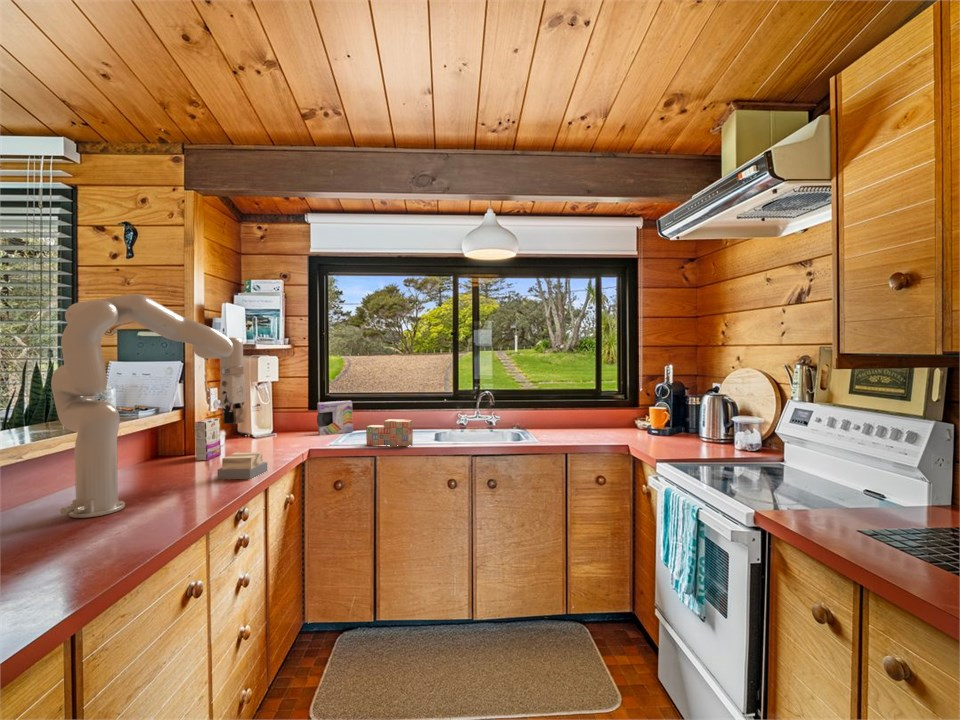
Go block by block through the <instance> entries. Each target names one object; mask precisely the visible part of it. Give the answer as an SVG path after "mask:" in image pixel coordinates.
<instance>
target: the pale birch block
mask: <svg viewBox="0 0 960 720" xmlns="http://www.w3.org/2000/svg"><path fill="white" fill-rule="evenodd" d="M262 462H263V451H253V452H252V451H250V452H249V451H248V452H246V451H243V452H233V453H231V454H229V455H227V456H224V457H222V462H221V463H222V467H221V468H222V470H228V469H252V468H254V467H256V466H257V465H259V464H261V463H262Z"/></svg>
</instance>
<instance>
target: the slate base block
mask: <svg viewBox="0 0 960 720" xmlns="http://www.w3.org/2000/svg"><path fill="white" fill-rule="evenodd" d="M266 471H267V472H268V462H267V461H266V462H265V461H262V463H261V464H259V465H257V466H256V467H254V468H252V469H228V470H222V467H221V468H219V469H217V480H218V479H251V480H253V479H255V478H257V477H259V476H261V475H263V474H265V473H264V472H266ZM267 472H266V473H267ZM262 473H263V474H262ZM260 474H261V475H260ZM258 475H259V476H258ZM256 476H257V477H256ZM254 477H255V478H254ZM252 478H253V479H252Z"/></svg>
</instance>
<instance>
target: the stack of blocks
mask: <svg viewBox="0 0 960 720" xmlns="http://www.w3.org/2000/svg"><path fill="white" fill-rule="evenodd" d="M413 426H414V425H413V419H405V418H404V419H394V418H392V419H391V418H390V419H389V418H388V419H386V420H383V425H382V424H381V425H380V424H370V425H367V426H366V427H365V428H366V429H365V430H366V431H365V433H366V436H365V437H366V446H367V445H390V446H397V445H398V446H409V445H411V444H414V443H413V440H414V439H413V438H414V437H413V434H414V433H413V431H414V430H413ZM411 446H412V445H411Z"/></svg>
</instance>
